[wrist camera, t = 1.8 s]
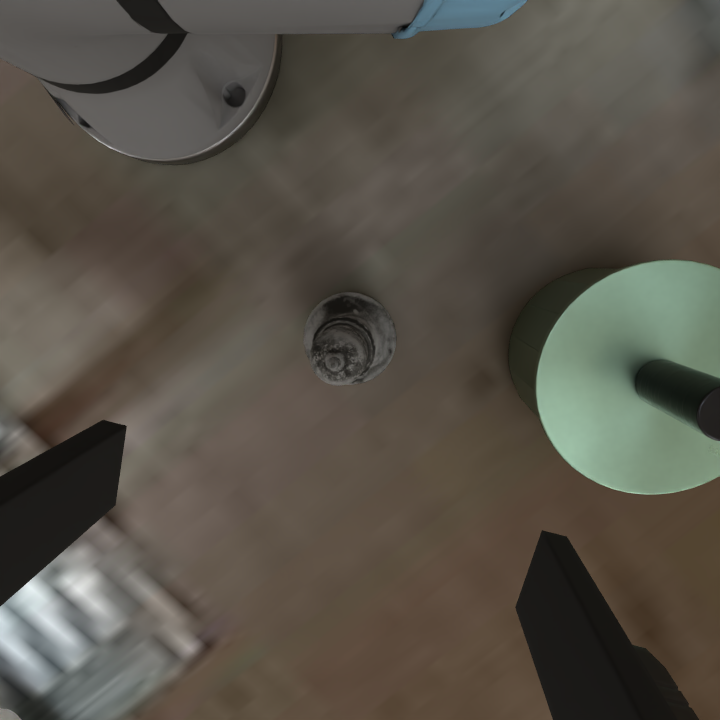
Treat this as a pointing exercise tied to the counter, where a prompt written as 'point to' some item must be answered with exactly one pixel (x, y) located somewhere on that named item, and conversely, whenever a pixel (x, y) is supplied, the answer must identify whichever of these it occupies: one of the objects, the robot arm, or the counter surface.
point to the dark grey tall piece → (349, 339)
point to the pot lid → (636, 378)
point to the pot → (542, 326)
